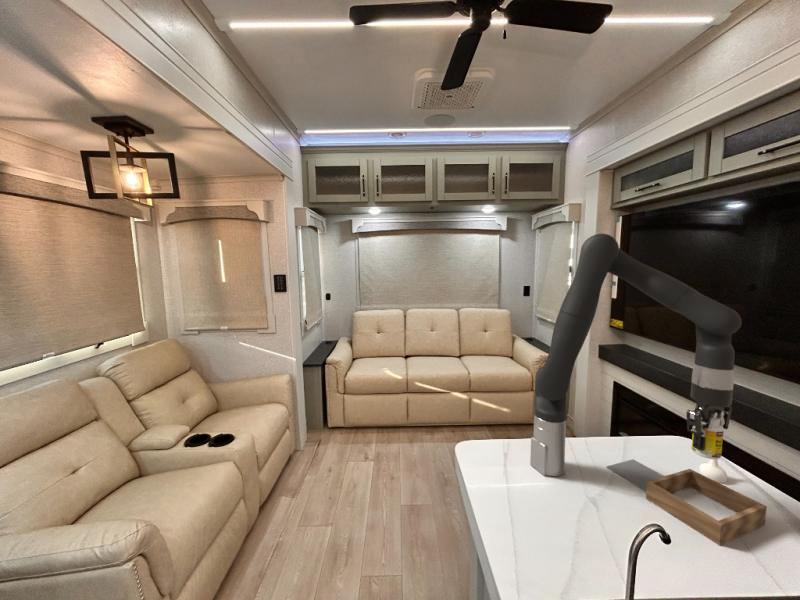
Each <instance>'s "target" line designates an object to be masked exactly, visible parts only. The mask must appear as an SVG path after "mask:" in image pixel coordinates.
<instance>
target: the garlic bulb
mask: <svg viewBox="0 0 800 600" xmlns="http://www.w3.org/2000/svg"><path fill="white" fill-rule="evenodd" d="M698 473H699V474H701V475H704V476H706V477H708V478H710V479H712V480H714V481H716V482H718V483H720V484H723V483H725V482H727V481H728V474H727V472H726V471H725V469H723V468H722V467H720V466H719V462H718V459H709V461H708V462H704V463H701V464H700V465H699V467H698Z"/></svg>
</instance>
